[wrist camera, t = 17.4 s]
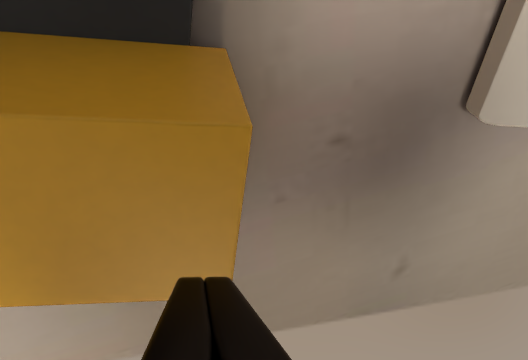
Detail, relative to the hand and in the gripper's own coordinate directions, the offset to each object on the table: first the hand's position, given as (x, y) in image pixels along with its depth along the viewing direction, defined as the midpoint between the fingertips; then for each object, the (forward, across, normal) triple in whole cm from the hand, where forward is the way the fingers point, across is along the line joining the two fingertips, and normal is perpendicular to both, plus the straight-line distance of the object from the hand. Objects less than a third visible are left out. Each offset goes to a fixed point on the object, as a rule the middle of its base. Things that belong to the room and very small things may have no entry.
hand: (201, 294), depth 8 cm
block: (+4, -1, 0) cm, 4 cm away
